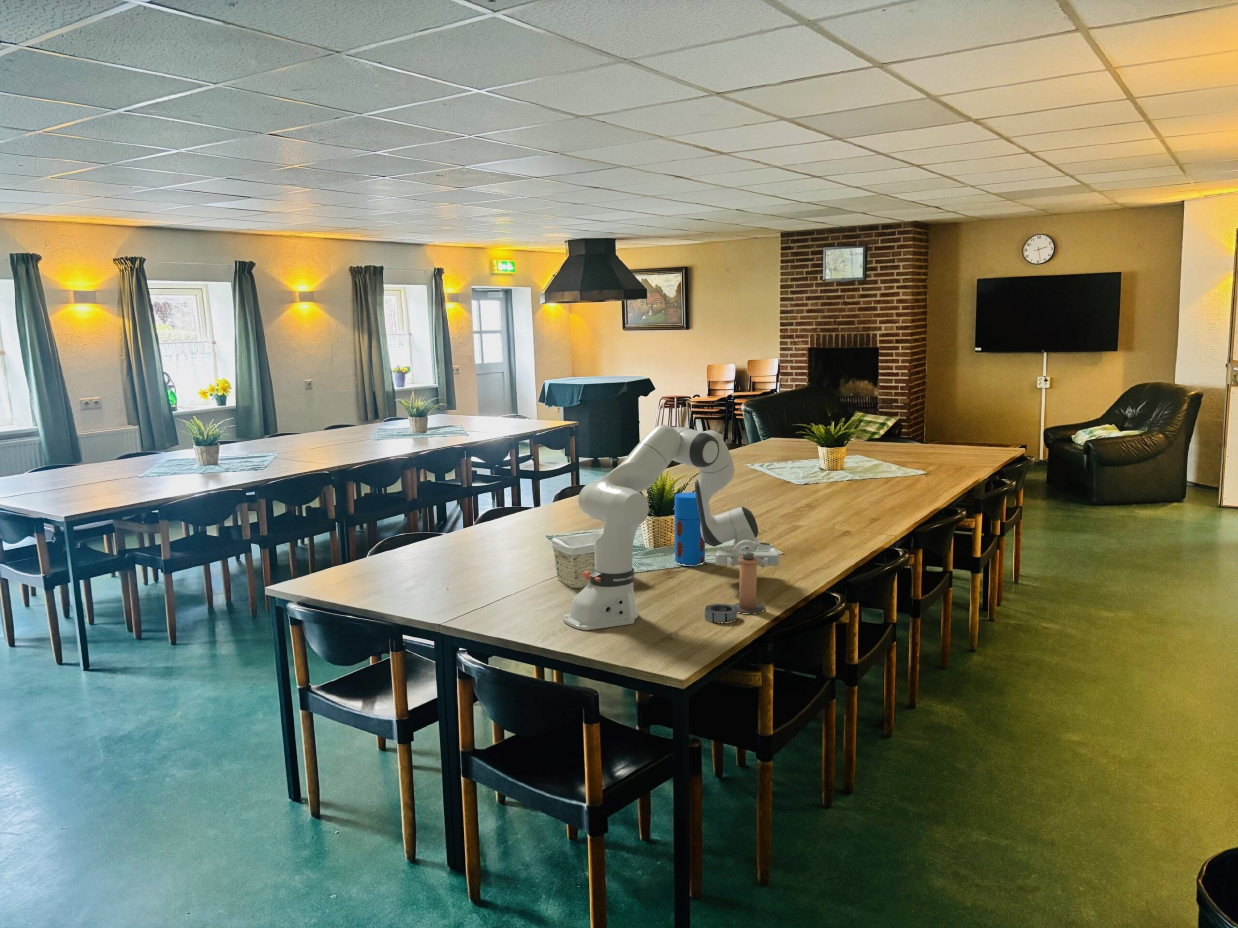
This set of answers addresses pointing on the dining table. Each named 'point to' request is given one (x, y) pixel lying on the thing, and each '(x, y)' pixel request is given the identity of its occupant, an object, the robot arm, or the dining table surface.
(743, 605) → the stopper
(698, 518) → the thermos
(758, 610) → the rest pad
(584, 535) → the storage basket
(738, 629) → the dining table surface
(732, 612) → the collar
